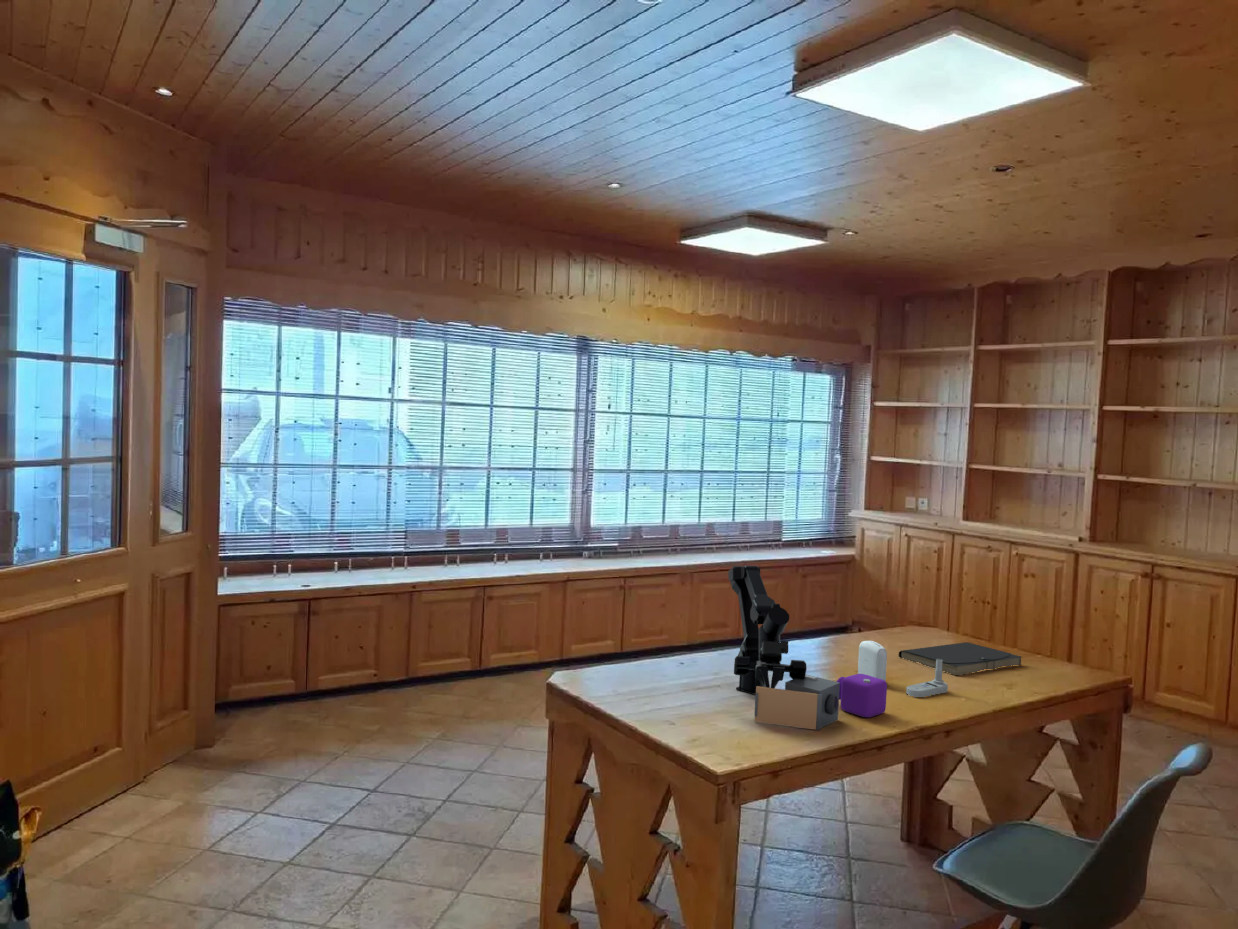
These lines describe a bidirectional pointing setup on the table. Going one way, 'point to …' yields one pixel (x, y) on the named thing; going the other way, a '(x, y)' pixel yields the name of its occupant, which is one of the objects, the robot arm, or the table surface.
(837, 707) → the camera case
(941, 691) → the electronic device
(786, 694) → the side door
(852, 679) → the toy camera
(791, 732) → the table surface
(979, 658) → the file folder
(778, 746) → the table surface
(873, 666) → the photo printer
